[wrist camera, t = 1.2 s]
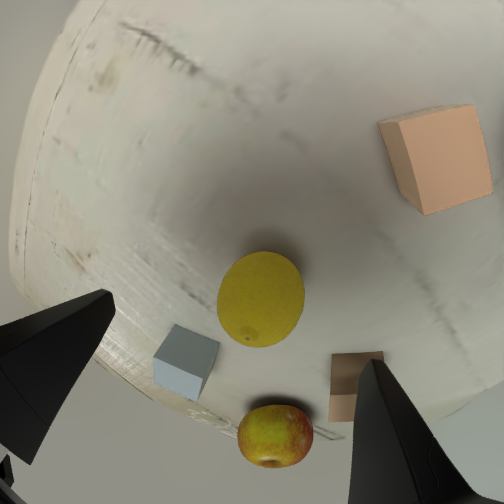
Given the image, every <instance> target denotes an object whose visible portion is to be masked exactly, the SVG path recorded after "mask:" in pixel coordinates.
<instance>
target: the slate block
mask: <svg viewBox="0 0 504 504" xmlns="http://www.w3.org/2000/svg"><path fill="white" fill-rule="evenodd" d="M219 344H220V342H217V341H214V340H212V339H209V338H207V337H204V336H202V335H200V334H197V333H195V332H192V331H190V330H188V329H185V328H183V327H181V326H178V325H176V324H175V325H174V327H173V328H172V330H171V331H170V333H169V334H168V336H167V337H166V338H165V340H164V341H163V343H162V344H161V346H160V347H159V349H158V350H157V352H156V353H155V355H154V356H153V371H154V383H156V384H158V385H160V386H162V387H164V388H166V389H168V390H170V391H173V392H175V393H177V394H179V395H182V396H184V397H186V398H189V399H191V400H193V401H196V402H197V401H198V399H199V397H200V394H201V392H202V390H203V388H204V386H205V384H206V381H207V379H208V377H209V375H210V373H211V370H212V368H213V364H214V361H215V358H216V354H217V351H218V347H219Z"/></svg>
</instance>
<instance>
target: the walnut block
mask: <svg viewBox="0 0 504 504" xmlns="http://www.w3.org/2000/svg"><path fill="white" fill-rule="evenodd" d="M370 358H376V359H382V360H383V361H384V357H383V351H380V352H365V353H344V354H332V368H331V388H330V403H329V416H328V422H348V421H354V414H355V406H356V398H357V389H358V380H359V376H360V373H361V372H362V370H363V368H364V367H365V365H366V364H367V362H368V360H369V359H370Z"/></svg>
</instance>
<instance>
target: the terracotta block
mask: <svg viewBox="0 0 504 504" xmlns="http://www.w3.org/2000/svg"><path fill="white" fill-rule="evenodd" d="M378 125H379V128H380V131H381V133H382V136H383V139H384V142H385V145H386V148H387V151H388V154H389V157H390V160H391V163H392V166H393V169H394V173H395V176H396V180H397V183H398V187H399V190H400V193H401V194H402V195H403V196H404V197H405V198H406V199H407V200H408V201H409V202H410V203H411V204H412V205H413V206H414V207H415V208H416V209H417V210H418V211H419V212H420V213H421V214H422V215H423V216H426V215H429V214H432V213H435V212H438V211H441V210H444V209H447V208H450V207H453V206H456V205H459V204H462V203H465V202H468V201H471V200H474V199H477V198H480V197H483V196H486V195H489V194H492V193H493V187H492V180H491V173H490V167H489V162H488V157H487V152H486V147H485V143H484V138H483V134H482V130H481V127H480V123H479V119H478V116H477V113H476V109H475V106H474V104H468V105H450V106H439V107H434V108H430V109H426V110H422V111H418V112H414V113H410V114H406V115H403V116H399V117H395V118H392V119H388V120H385V121H381V122H378Z"/></svg>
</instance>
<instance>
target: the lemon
mask: <svg viewBox="0 0 504 504" xmlns="http://www.w3.org/2000/svg"><path fill="white" fill-rule="evenodd" d="M304 298H305V290H304V285H303V280H302V277H301V275H300V273H299V271H298V269H297V268H296V267H295V266H294V264H293V263H292V262H291V261H290V260H288V259H287V258H285V257H284V256H282V255H279V254H277V253H274V252H267V251H262V252H255V253H252V254H249V255H246V256H244V257H243V258H241V259H240V260H238V261H237V262H236V263H235V264H234V265H233V266H232V267H231V268H230V270H229V271H228V272H227V273H226V275H225V277H224V279H223V281H222V284H221V287H220V289H219V293H218V300H217V313H218V317H219V320H220V323H221V325H222V327H223V328H224V330H225V331H226V332H227V334H228V335H229V336H230V337H231V338H233V339H234V340H236V341H237V342H239V343H241V344H243V345H246V346H249V347H258V348H259V347H267V346H271V345H274V344H276V343H278V342H280V341H281V340H283V339H285V338H286V337H287V336H288V334H289V333H290V332H291V331H292V330H293V329H294V327H295V326H296V324H297V322H298V320H299V318H300V315H301V313H302V310H303V306H304Z"/></svg>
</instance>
